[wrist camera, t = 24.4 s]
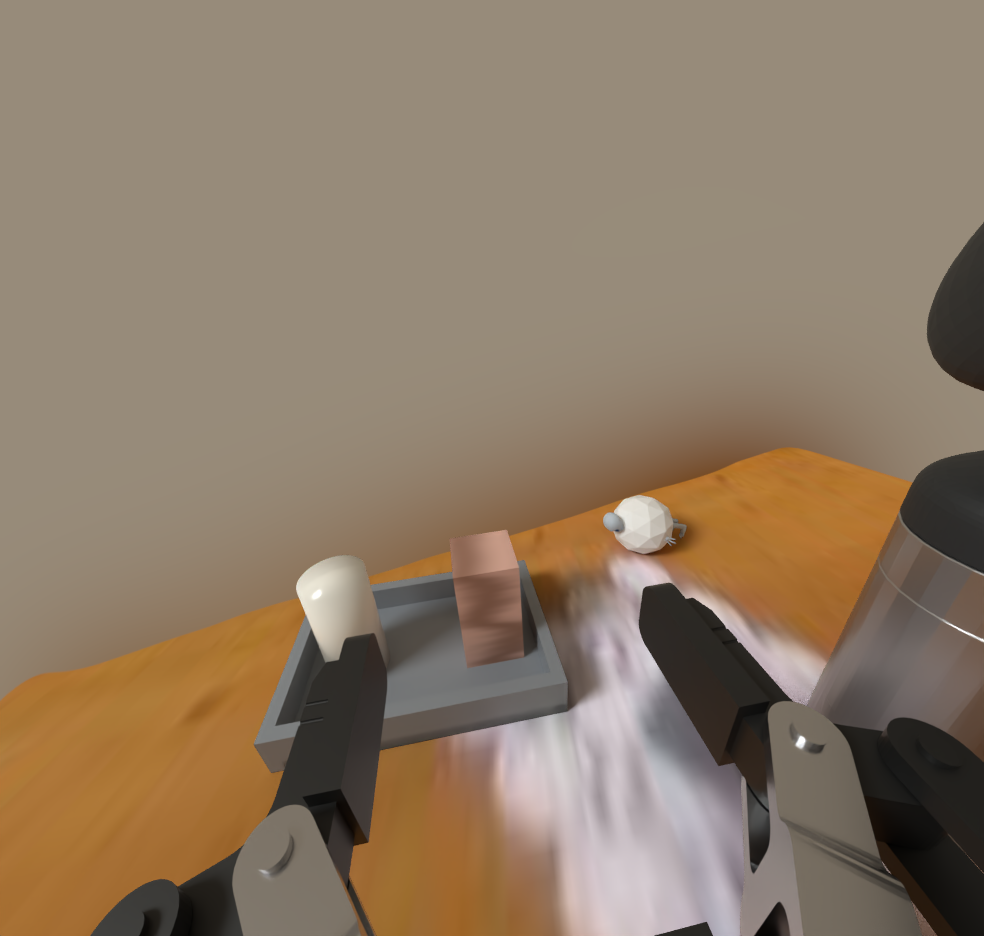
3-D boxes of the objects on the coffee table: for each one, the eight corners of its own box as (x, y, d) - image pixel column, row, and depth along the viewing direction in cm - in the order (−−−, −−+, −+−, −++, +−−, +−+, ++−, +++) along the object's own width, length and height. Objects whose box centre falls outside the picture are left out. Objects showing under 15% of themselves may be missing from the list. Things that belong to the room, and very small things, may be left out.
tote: (525, 584, 41) (524, 560, 39) (567, 711, 28) (567, 682, 27) (323, 618, 39) (314, 594, 37) (271, 772, 26) (253, 744, 24)
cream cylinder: (392, 634, 35) (369, 551, 31) (386, 683, 30) (358, 594, 26) (339, 644, 34) (307, 560, 30) (325, 695, 30) (286, 606, 26)
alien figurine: (648, 534, 51) (578, 530, 46) (669, 489, 49) (598, 479, 44) (690, 567, 44) (614, 567, 40) (717, 517, 42) (639, 510, 37)
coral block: (512, 613, 36) (506, 529, 32) (524, 657, 32) (519, 567, 27) (462, 621, 36) (449, 538, 31) (467, 668, 31) (452, 578, 27)
